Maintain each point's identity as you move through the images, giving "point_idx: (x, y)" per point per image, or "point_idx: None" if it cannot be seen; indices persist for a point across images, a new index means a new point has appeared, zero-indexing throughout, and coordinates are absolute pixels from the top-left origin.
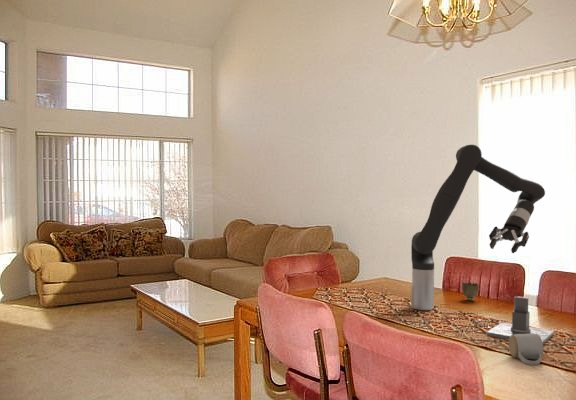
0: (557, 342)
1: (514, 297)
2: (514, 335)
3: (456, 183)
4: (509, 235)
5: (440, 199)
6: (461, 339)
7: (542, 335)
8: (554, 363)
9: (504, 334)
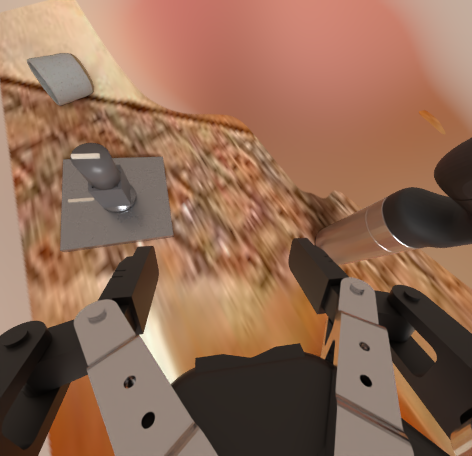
0: (45, 198)
1: (107, 150)
2: (71, 55)
3: None
4: (235, 386)
5: None
6: (180, 122)
7: (73, 198)
8: (28, 95)
9: (134, 161)
